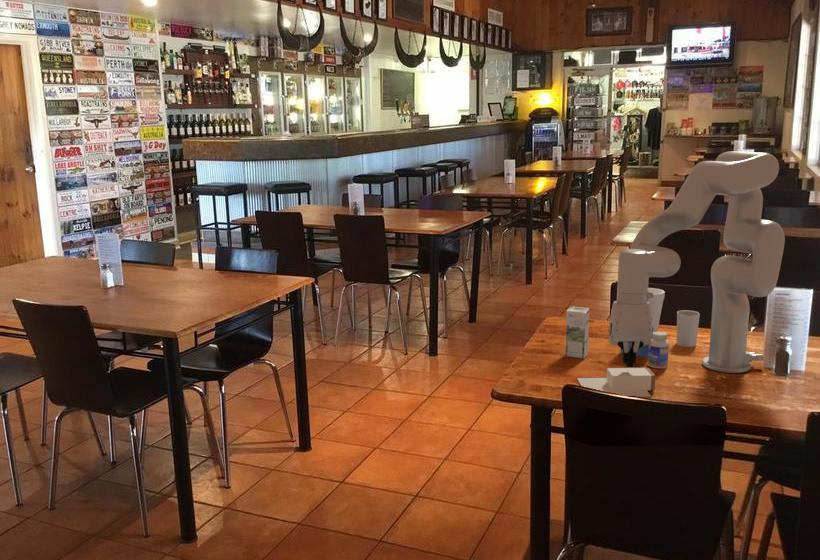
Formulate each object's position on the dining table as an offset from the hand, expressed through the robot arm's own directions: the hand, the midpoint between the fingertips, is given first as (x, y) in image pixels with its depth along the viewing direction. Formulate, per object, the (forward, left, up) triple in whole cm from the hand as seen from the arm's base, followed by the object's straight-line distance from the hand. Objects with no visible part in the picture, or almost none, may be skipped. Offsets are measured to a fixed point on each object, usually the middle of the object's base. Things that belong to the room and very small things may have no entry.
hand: (628, 365), depth 194 cm
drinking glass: (-28, -37, -6) cm, 47 cm away
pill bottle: (-13, -17, -6) cm, 22 cm away
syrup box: (+8, -27, -6) cm, 29 cm away
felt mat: (+4, 0, -6) cm, 7 cm away
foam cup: (-21, -54, -6) cm, 58 cm away
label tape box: (-10, -28, -6) cm, 30 cm away
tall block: (-6, 0, -4) cm, 7 cm away
